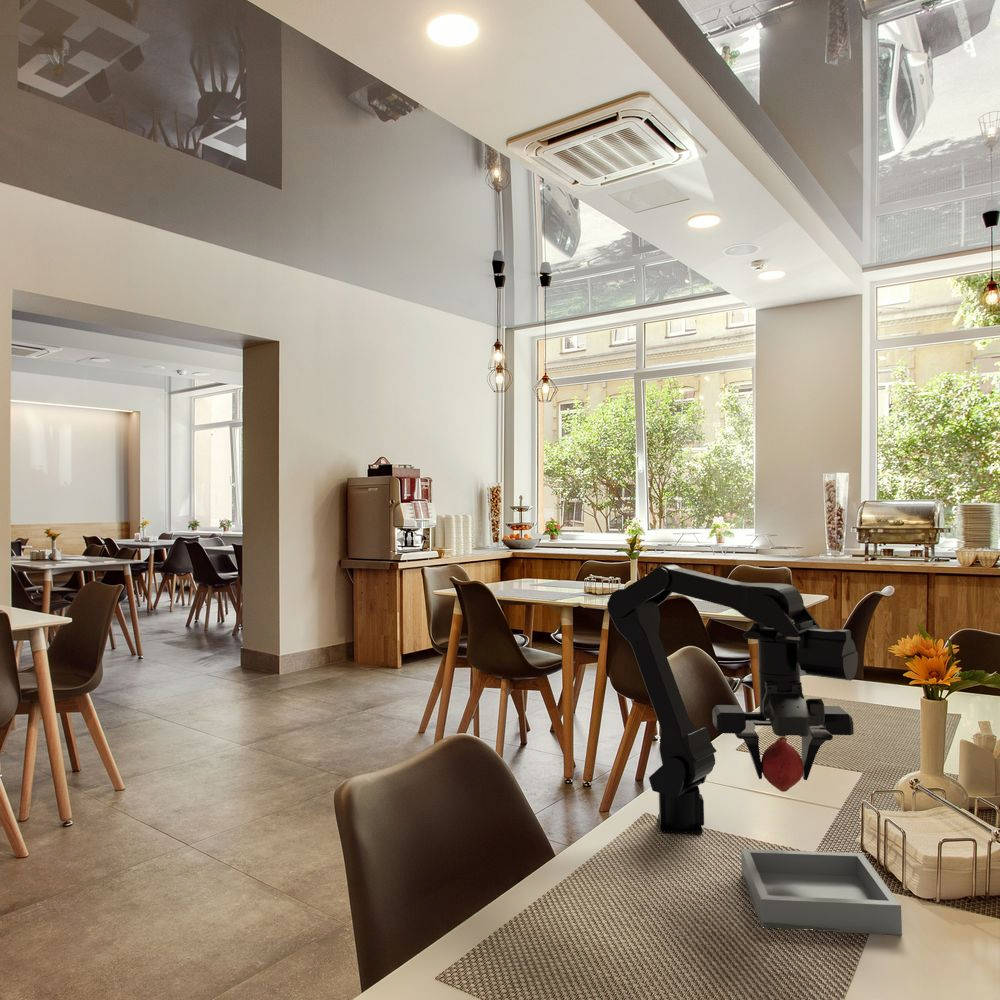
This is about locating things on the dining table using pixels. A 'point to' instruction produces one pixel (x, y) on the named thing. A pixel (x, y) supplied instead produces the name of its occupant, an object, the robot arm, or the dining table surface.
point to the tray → (819, 892)
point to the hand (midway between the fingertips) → (782, 778)
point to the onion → (782, 765)
